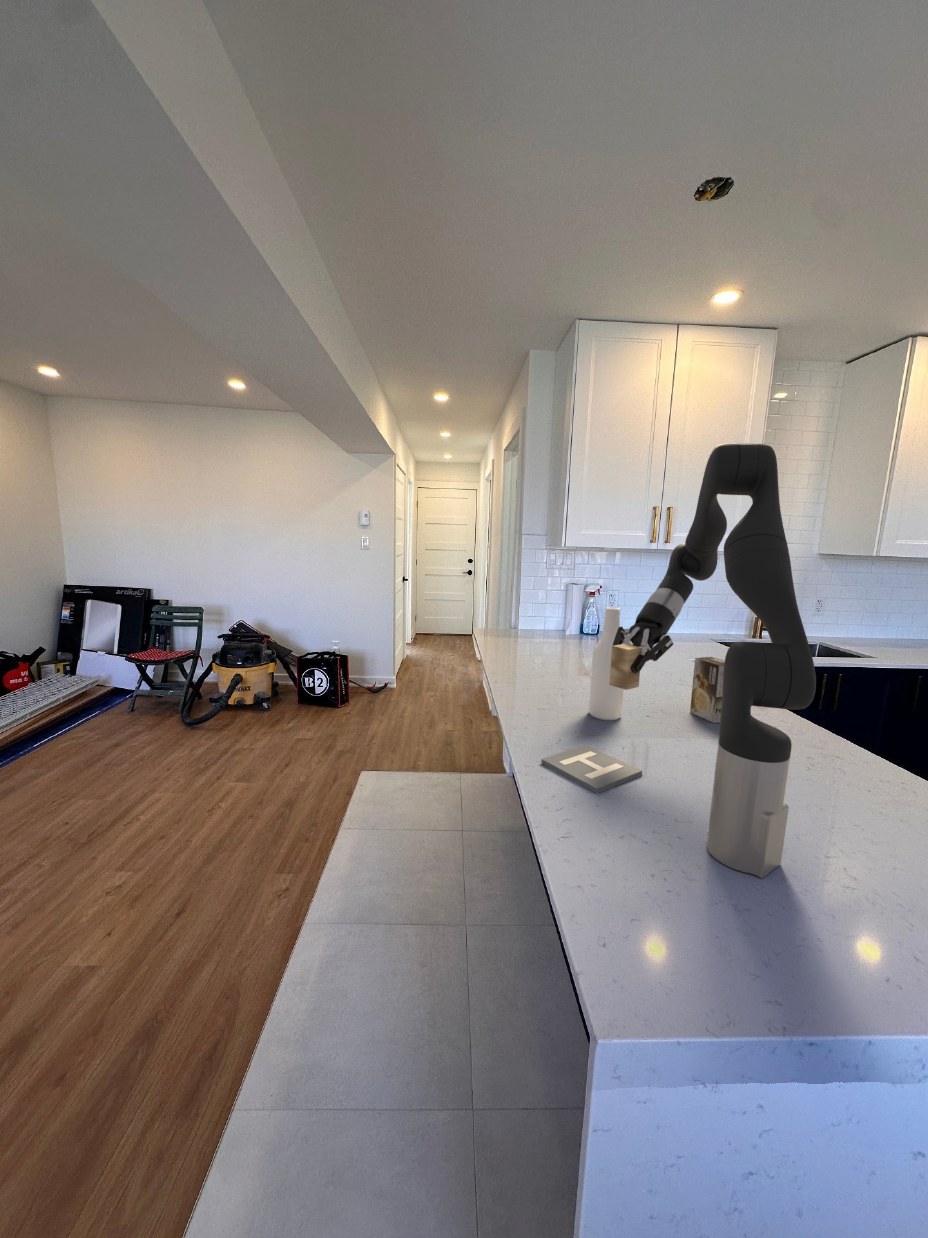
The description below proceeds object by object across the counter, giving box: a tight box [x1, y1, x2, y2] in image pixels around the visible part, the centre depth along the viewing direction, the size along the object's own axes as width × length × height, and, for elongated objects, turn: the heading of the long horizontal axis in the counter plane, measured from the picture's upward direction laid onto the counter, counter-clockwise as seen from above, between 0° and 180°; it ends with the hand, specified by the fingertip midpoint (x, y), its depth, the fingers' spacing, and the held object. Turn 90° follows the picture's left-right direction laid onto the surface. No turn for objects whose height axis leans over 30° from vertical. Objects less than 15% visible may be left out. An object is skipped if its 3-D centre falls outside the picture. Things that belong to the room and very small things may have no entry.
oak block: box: [609, 644, 642, 691], centre depth 110 cm, size 4×4×9 cm
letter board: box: [540, 744, 643, 794], centre depth 103 cm, size 15×14×1 cm
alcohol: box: [588, 606, 625, 721], centre depth 134 cm, size 9×9×30 cm
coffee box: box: [689, 656, 725, 724], centre depth 136 cm, size 9×6×16 cm
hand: (623, 668), depth 110 cm, fingers closed on oak block, 4 cm apart
